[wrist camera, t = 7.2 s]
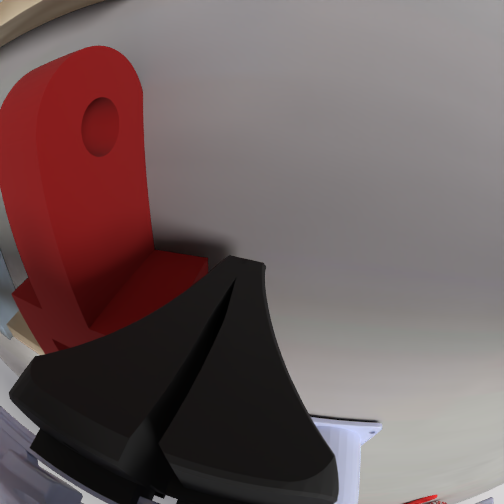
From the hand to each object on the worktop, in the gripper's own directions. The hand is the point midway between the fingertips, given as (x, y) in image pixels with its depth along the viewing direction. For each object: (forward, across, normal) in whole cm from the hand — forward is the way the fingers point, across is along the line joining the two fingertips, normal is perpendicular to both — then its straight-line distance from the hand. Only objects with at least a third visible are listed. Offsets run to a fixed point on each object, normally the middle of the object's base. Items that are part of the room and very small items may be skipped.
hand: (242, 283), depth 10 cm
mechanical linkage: (+2, +5, +1) cm, 6 cm away
